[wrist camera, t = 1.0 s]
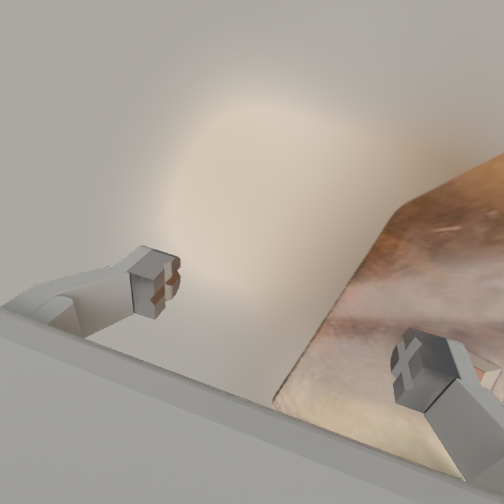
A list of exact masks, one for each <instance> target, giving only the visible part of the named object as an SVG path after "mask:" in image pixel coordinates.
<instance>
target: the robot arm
mask: <svg viewBox="0 0 504 504" xmlns="http://www.w3.org/2000/svg"><path fill="white" fill-rule="evenodd" d="M179 268H180V258H179V257H177V256H174V255H171V254H168V253H165V252H162V251H159V250H155V249H152V248H149V247H146V246H139V247H138V248H136V249H135V250H134V251H132V252H131V253H130V254H129V255H127V256H126V257H125V258H124V259H122V260H121V261H120V262H119V263H117V264H116V265H115V266H113V267H110V266H107V267H103V268H99V269H95V270H91V271H88V272H84V273H79V274H76V275H72V276H67V277H63V278H59V279H55V280H51V281H47V282H43V283H39V284H35V285H33V286H32V287H31V288H29V289H27V290H26V291H25V292H23V293H21V294H20V295H18V296H17V297H15V298H13V299H12V300H10V301H9V302H7V303H6V304H4V305H3V306H1V307H0V504H504V404H503V403H502V402H501V401H500V400H499V399H498V398H497V397H496V396H495V395H494V394H493V393H492V392H491V391H489V390H488V389H487V388H484V387H482V386H481V383H480V381H479V379H478V377H477V374H476V372H475V370H474V367H473V365H472V363H471V360H470V358H469V356H468V353H467V351H466V349H465V346H464V345H463V344H462V343H461V342H460V341H456V340H453V339H449V338H446V337H441V336H437V335H434V334H431V333H427V332H424V331H420V330H417V329H414V328H408V329H407V330H406V331H405V333H404V334H403V339H404V342H402V343H399V344H397V345H396V347H395V348H394V350H393V353H392V356H391V365H390V366H391V372H392V374H393V375H394V376H395V378H396V380H395V382H394V383H393V388H394V395H395V402H396V403H397V404H400V405H402V406H405V407H408V408H410V409H413V410H416V411H418V412H421V413H424V416H425V418H426V419H427V421H428V422H429V424H430V425H431V427H432V429H433V430H434V432H435V433H436V435H437V436H438V438H439V440H440V441H441V443H442V444H443V446H444V447H445V449H446V450H447V452H448V454H449V455H450V457H451V458H452V460H453V461H454V463H455V465H456V466H457V468H458V469H459V471H460V472H461V474H462V476H463V477H464V479H465V480H466V482H465V481H462V480H460V479H457V478H454V477H452V476H449V475H446V474H444V473H441V472H438V471H436V470H433V469H430V468H428V467H425V466H422V465H420V464H417V463H414V462H412V461H409V460H406V459H404V458H401V457H398V456H396V455H393V454H390V453H388V452H385V451H382V450H380V449H377V448H374V447H372V446H369V445H366V444H364V443H361V442H358V441H356V440H353V439H350V438H348V437H345V436H342V435H340V434H337V433H334V432H332V431H329V430H326V429H324V428H321V427H318V426H316V425H313V424H310V423H308V422H305V421H302V420H300V419H297V418H294V417H292V416H289V415H286V414H284V413H281V412H278V411H276V410H273V409H270V408H268V407H265V406H263V405H260V404H257V403H255V402H252V401H249V400H247V399H244V398H241V397H239V396H236V395H233V394H231V393H228V392H225V391H223V390H220V389H217V388H215V387H212V386H209V385H207V384H204V383H201V382H198V381H196V380H193V379H191V378H188V377H185V376H183V375H180V374H177V373H175V372H172V371H169V370H167V369H164V368H161V367H158V366H156V365H153V364H151V363H148V362H145V361H143V360H140V359H137V358H134V357H132V356H129V355H127V354H124V353H122V352H119V351H116V350H113V349H111V348H108V347H106V346H103V345H100V344H98V343H95V342H92V341H89V340H87V339H84V338H85V337H88V336H90V335H92V334H94V333H95V332H98V331H100V330H102V329H104V328H106V327H108V326H110V325H112V324H114V323H116V322H118V321H120V320H122V319H125V318H127V317H129V316H131V315H133V314H134V313H136V314H139V315H143V316H146V317H149V318H152V319H156V318H157V317H158V316H159V314H160V313H161V312H162V311H163V310H164V308H165V302H166V301H169V300H171V299H172V298H173V297H174V296H175V295H176V293H177V291H178V288H179V285H180V275H179V273H178V271H177V270H178V269H179Z"/></svg>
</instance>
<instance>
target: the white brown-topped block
mask: <svg viewBox="0 0 504 504" xmlns="http://www.w3.org/2000/svg"><path fill="white" fill-rule="evenodd" d="M467 353H468V356H469V358H470V360H471V363H472V365H473V367H474V370H475V372H476V374H477V377H478V379H479V381H480V383H481V386H482V387H484V388H487V389H488V390H489V391H490V390H491V389H492V387H493V385H494V383H495V381H496V379H497V377H498V375H499V373H500V372H501V370H502V369H501V368H499V367H497V366H495V365H493V364H491V363H489V362H488V361H486V360H484V359H482V358H480V357H478V356H476V355H474V354H472V353H470V352H468V351H467Z"/></svg>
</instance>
